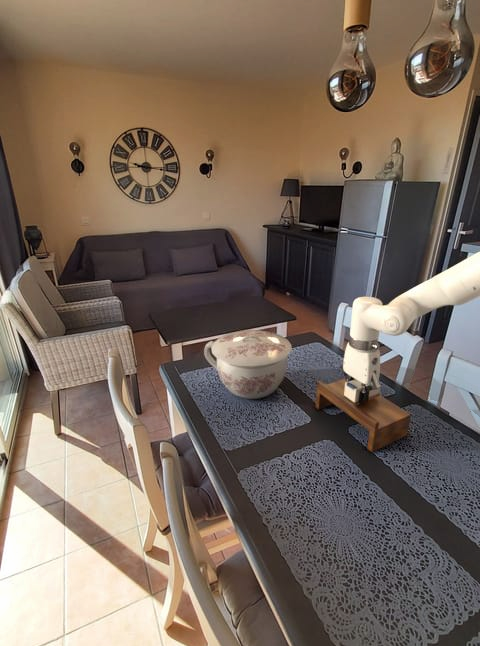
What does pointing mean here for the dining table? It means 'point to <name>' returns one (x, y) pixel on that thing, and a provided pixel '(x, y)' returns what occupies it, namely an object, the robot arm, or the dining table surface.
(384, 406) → the shoe shelf
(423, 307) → the robot arm
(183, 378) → the dining table surface
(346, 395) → the slotted cream box
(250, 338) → the chamber pot
